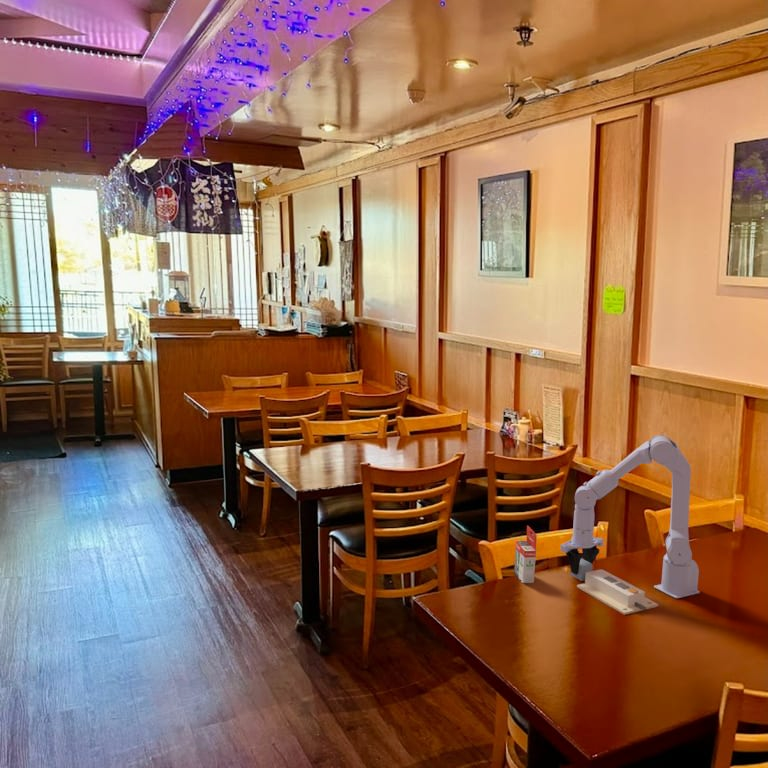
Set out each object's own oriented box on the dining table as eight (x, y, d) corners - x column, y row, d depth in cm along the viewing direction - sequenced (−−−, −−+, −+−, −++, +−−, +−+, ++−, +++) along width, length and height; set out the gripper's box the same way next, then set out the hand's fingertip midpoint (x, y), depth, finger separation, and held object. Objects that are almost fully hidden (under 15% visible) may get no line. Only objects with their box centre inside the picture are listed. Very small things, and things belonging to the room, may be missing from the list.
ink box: (522, 583, 191) (524, 534, 189) (513, 572, 199) (515, 525, 197) (534, 583, 192) (537, 534, 190) (525, 572, 200) (527, 524, 198)
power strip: (608, 580, 195) (609, 565, 195) (661, 608, 178) (662, 592, 178) (576, 587, 190) (577, 572, 189) (627, 616, 173) (628, 600, 172)
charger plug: (581, 573, 200) (582, 558, 199) (599, 583, 193) (600, 568, 192) (570, 575, 198) (571, 560, 197) (588, 585, 191) (589, 570, 191)
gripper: (592, 520, 202) (589, 563, 204) (554, 526, 196) (552, 570, 198) (609, 527, 196) (606, 571, 198) (571, 534, 189) (568, 580, 191)
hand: (580, 571), depth 197 cm, fingers closed on charger plug, 4 cm apart
